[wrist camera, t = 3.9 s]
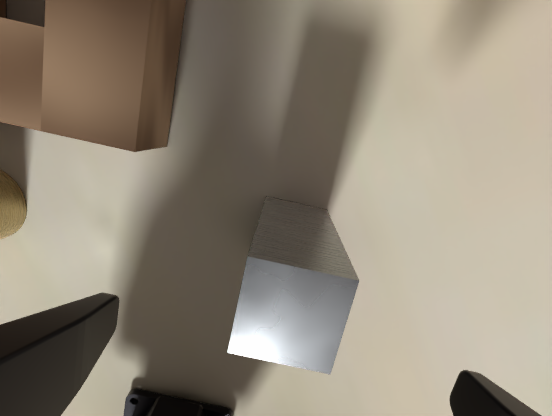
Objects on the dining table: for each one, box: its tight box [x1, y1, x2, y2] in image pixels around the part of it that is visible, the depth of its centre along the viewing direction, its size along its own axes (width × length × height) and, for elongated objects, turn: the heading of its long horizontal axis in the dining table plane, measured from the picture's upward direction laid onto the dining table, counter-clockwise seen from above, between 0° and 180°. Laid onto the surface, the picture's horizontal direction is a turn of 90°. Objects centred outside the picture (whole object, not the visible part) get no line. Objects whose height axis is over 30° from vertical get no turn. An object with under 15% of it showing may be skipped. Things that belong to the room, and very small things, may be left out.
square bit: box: [227, 196, 359, 374], centre depth 13 cm, size 3×3×8 cm
